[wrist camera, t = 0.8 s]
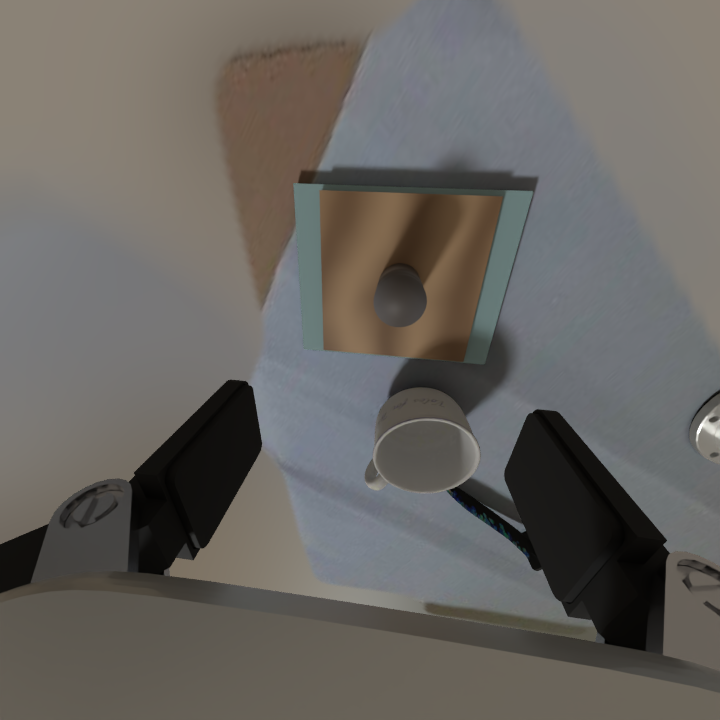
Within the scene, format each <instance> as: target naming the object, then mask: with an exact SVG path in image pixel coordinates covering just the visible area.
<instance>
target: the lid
mask: <svg viewBox="0 0 720 720" xmlns="http://www.w3.org/2000/svg"><path fill="white" fill-rule="evenodd" d="M319 194H320V233H321V271H322V309H323V347H324V350H329V351H341V352H352V353H364V354H375V355H387V356H399V357H410V358H422V359H434V360H445V361H457V362H464V358H465V354H466V349H467V345H468V341H469V337H470V333H471V329H472V324H473V320H474V316H475V312H476V308H477V303H478V299H479V295H480V291H481V287H482V283H483V278H484V274H485V270H486V266H487V262H488V258H489V253H490V249H491V245H492V241H493V237H494V233H495V228H496V224H497V220H498V216H499V212H500V207H501V203H502V199H503V196H475V195H446V194H416V193H387V192H358V191H329V190H319Z"/></svg>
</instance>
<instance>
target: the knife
mask: <svg viewBox="0 0 720 720" xmlns="http://www.w3.org/2000/svg"><path fill="white" fill-rule="evenodd" d="M446 491H447V492H448V493H449V494H450V495H451V496H452V497H453V498H454V499H455V500H456V501H457V502H458V503H459V504H461V505H462V506H463V507H464V508H465V509H467V510H468V511H469V512H470V513H472V514H473V515H475V516H476V517H478V518H479V519H480V520H482V521H483V522H485V523H486V524H488V525H489V526H491V527H492V528H494V529H495V530H496V531H498V532H499V533H501V534H502V535H503V536H505V537H506V538H507V539H509V540H510V541H511V542H512V543H513V544H514V545H515V546H517V547H518V548H519V549H520V550H521V551H522V552H523V553H524V554H525V555H526V556H527V558H528V560H529V562H530V565H531V567H532V569H534V570H536V571H539V570H541V569H542V567H541V564H540V562H539V560H538V557H537V555H536V553H535V550H534V548H533V545H532V543H531V541H530V538H529V536H528V534H527V532H525V533H523V534H522V533H521V532H519V531H518V530H517V529H515V528H514V527H513V526H512V525H510V524H509V523H508V522H506V521H505V520H504V519H502V518H501V517H499V516H498V515H497V514H495V513H494V512H493V511H491V510H490V509H489V508H487V507H486V506H484V505H483V504H481V503H480V502H478V501H477V500H476V499H474V498H473V497H471V496H469V495H468V494H466V493H465V492H463V491H462V490H460V489H459V488H457V487H455V488H452V489H449V490H446Z"/></svg>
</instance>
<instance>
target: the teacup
mask: <svg viewBox="0 0 720 720" xmlns="http://www.w3.org/2000/svg"><path fill="white" fill-rule="evenodd" d="M480 457H481V454H480V447H479V445H478V442H477V440H476V438H475V436H474V435H473V433H472V431H471V428H470V426H469V423H468V421H467V419H466V417H465V415H464V413H463V411H462V409H461V408H460V406H459V405H458V404H457V403H456V402H455V401H454V400H453V399H452V398H451V397H450V396H448V395H447V394H445V393H443V392H441V391H439V390H436V389H432V388H426V387H417V388H410V389H406V390H403V391H400V392H398V393H397V394H395V395H393V396H392V397H391V398H389V399H388V400H387V401H386V402H385V403H384V405H383V406H382V408H381V409H380V411H379V414H378V416H377V420H376V427H375V444H374V450H373V459H372V460H371V461H370V463H369V465H368V467H367V469H366V472H365V482H366V484H367V485H368V487H370V488H371V489H373V490H381V489H382V488H384V487H385V486H386V485H387V484H388V483H390V484H391V485H393V486H395V487H397V488H400V489H403V490H406V491H409V492H414V493H435V492H442V491H445V490H449V489H452V488H455V487H457V486H459V485H460V484H462V483H464V482H465V481H466V480H467V479H469V478H470V477H471V476H472V475H473V473H474V472H475V471H476V469H477V467H478V465H479V462H480ZM378 472H379V474H378V476H377V477H376V475H377V473H378Z"/></svg>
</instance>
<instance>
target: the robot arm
mask: <svg viewBox="0 0 720 720" xmlns="http://www.w3.org/2000/svg"><path fill="white" fill-rule="evenodd" d="M689 438H690V442H691V444H692V446H693V447H694V449H695V450H696V451H697V452H698V453H700V454H701V455H702V456H704V457H705V458H706V459H708V460H710V461H712V462H714V463H716V464H720V393H719V394H718V395H716V396H715V397H713V398H712V399H711V400H710V401H709V402H708V403H706V404H705V405H704V406H703V407H702V408H701V410H700V411H699V412H698V413H697V415H696V416H695V418H694V420H693V422H692V423H691V427H690V431H689ZM261 447H262V440H261V434H260V428H259V422H258V416H257V410H256V404H255V398H254V392H253V388H252V386H249V385H248V383H247V382H246V381H239V380H228V381H227V382H226V383H225V384H224V385H223V386H222V387H221V388H220V389H219V390H217V391H216V393H214V394H213V395H212V396H211V397H210V398H209V399H208V400H207V401H206V402H205V403H204V404H203V405H202V406H201V407H200V408H199V409H198V410H197V411H196V412H195V413H194V414H193V415H192V416H191V417H190V418H189V419H188V420H187V421H186V422H185V423H184V424H183V425H182V426H181V427H180V428H179V429H178V430H177V431H176V432H175V433H174V434H173V435H172V436H171V437H170V438H169V439H168V440H167V441H166V442H165V443H164V444H163V445H162V446H161V447H160V448H158V449H157V451H155V452H154V453H153V454H152V455H151V456H150V457H149V458H148V459H147V460H146V461H145V462H144V463H143V464H142V465H141V466H140V467H139V468H138V469H137V470H136V471H135V472H134V474H135V476H134V477H133V478H132V479H131V480H130V481H129V482H127V481H126V480H123V479H107V480H104V481H100V482H96V483H94V484H92V485H90V486H87V487H85V488H84V489H82V490H80V491H78V492H77V493H75V494H73V495H72V496H71V497H69V498H68V499H67V500H66V501H64V502H63V503H62V504H61V505H60V506H59V508H58V509H57V510H56V511H55V512H54V514H53V516H52V518H51V520H50V522H49V524H48V525H45V526H43V527H40V528H38V529H35V530H33V531H31V532H29V533H26V534H24V535H21V536H19V537H17V538H14V539H12V540H9V541H7V542H5V543H3V544H0V720H720V566H718V565H716V564H715V563H713V562H711V561H709V560H707V559H705V558H702V557H700V556H698V555H695V554H691V553H688V552H678V551H675V552H673V553H671V554H670V553H669V552H668V551H667V549H666V548H665V547H664V546H663V544H664V543H665V542H666V541H667V540H666V539H665V537H664V536H663V535H662V534H661V533H660V531H659V530H658V529H657V528H656V527H655V526H654V524H653V523H652V522H651V521H650V520H649V518H648V517H647V516H646V515H645V514H644V513H643V511H642V510H641V509H640V508H639V507H638V505H637V504H636V503H635V502H634V501H633V500H632V498H631V497H630V496H629V495H628V494H627V492H626V491H625V490H624V489H623V488H622V487H621V485H620V484H619V483H618V482H617V481H616V479H615V478H614V477H613V476H612V475H611V474H610V472H609V471H608V470H607V469H606V468H605V466H604V465H603V464H602V463H601V462H600V461H599V459H598V458H597V457H596V456H595V455H594V453H593V452H592V451H591V450H590V449H589V448H588V446H587V445H586V444H585V443H584V442H583V440H582V439H581V438H580V437H579V436H578V435H577V433H576V432H575V431H574V430H573V429H572V427H571V426H570V425H569V424H568V423H567V422H566V420H565V419H564V418H563V417H562V416H561V414H560V413H558V412H556V411H549V410H539V409H537V410H535V411H534V412H533V413H530V414H528V416H527V418H526V420H525V422H524V425H523V427H522V430H521V432H520V435H519V437H518V439H517V442H516V444H515V447H514V449H513V452H512V454H511V457H510V459H509V461H508V464H507V466H506V469H505V473H504V477H505V481H506V484H507V486H508V489H509V491H510V493H511V496H512V498H513V501H514V503H515V505H516V508H517V510H518V512H519V515H520V517H521V519H522V522H523V524H524V527H525V529H526V531H527V534H528V536H529V538H530V541H531V543H532V545H533V548H534V550H535V553H536V555H537V557H538V560H539V562H540V564H541V567H542V569H543V571H544V574H545V576H546V579H547V581H548V583H549V586H550V588H551V590H552V592H553V594H554V596H555V597H556V599H558V600H559V601H561V602H562V604H563V606H564V609H565V611H566V613H567V616H568V617H575V618H581V619H588V620H591V619H592V621H593V623H594V625H595V627H596V629H597V637H596V642H591V641H586V640H581V639H575V638H569V637H564V636H558V635H552V634H545V633H539V632H533V631H527V630H521V629H514V628H508V627H502V626H496V625H489V624H483V623H477V622H471V621H465V620H458V619H452V618H446V617H440V616H433V615H427V614H420V613H414V612H408V611H401V610H394V609H388V608H382V607H376V606H369V605H363V604H356V603H350V602H343V601H337V600H330V599H324V598H317V597H311V596H304V595H297V594H291V593H284V592H278V591H271V590H264V589H258V588H251V587H244V586H237V585H231V584H224V583H217V582H211V581H202V580H195V579H187V578H179V577H172V576H170V571H169V568H170V566H171V565H172V563H173V562H174V560H175V558H182V559H190V560H194V558H195V557H196V555H197V553H198V551H199V550H200V548H204V547H206V546H207V544H208V543H209V541H210V539H211V538H212V536H213V534H214V532H215V531H216V529H217V527H218V525H219V524H220V522H221V520H222V518H223V517H224V515H225V513H226V511H227V510H228V508H229V506H230V504H231V502H232V501H233V499H234V497H235V495H236V494H237V492H238V490H239V488H240V486H241V485H242V483H243V481H244V479H245V478H246V476H247V474H248V472H249V471H250V469H251V467H252V465H253V464H254V462H255V460H256V459H257V457H258V455H259V453H260V451H261Z"/></svg>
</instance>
